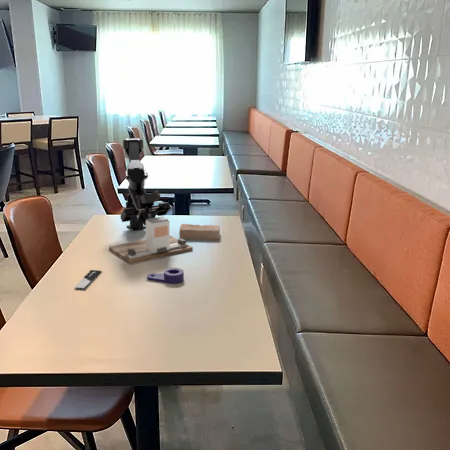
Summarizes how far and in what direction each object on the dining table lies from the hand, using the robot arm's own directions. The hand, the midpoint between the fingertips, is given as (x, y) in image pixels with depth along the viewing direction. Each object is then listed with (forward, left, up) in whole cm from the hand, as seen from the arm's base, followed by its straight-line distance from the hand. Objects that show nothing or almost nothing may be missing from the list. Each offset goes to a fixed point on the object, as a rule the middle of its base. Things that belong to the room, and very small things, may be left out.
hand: (153, 231), depth 174 cm
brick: (-6, +25, -9) cm, 27 cm away
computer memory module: (+11, -30, -9) cm, 33 cm away
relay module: (+3, 0, -6) cm, 7 cm away
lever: (+24, -9, -9) cm, 27 cm away
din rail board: (-3, 0, -8) cm, 9 cm away
